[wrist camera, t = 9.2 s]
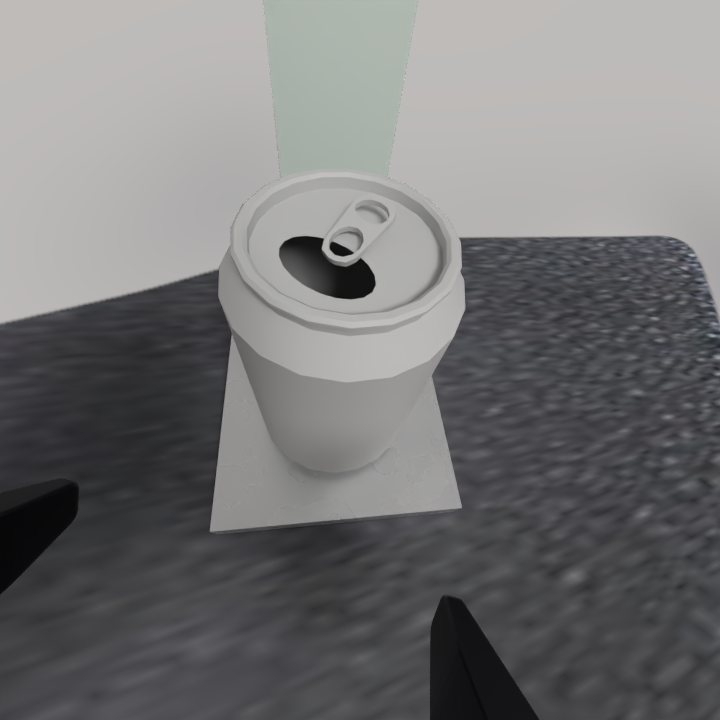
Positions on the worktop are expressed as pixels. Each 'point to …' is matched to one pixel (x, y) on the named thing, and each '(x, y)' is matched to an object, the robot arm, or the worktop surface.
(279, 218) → the can
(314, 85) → the press frame
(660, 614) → the worktop surface
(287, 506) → the plate
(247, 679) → the worktop surface
